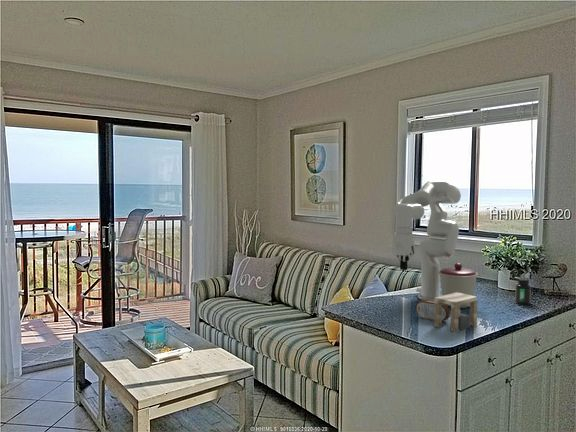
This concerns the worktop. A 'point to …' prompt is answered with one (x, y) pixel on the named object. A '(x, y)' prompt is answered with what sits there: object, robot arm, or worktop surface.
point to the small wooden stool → (456, 310)
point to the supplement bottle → (523, 292)
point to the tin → (431, 310)
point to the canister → (458, 281)
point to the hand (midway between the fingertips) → (403, 269)
